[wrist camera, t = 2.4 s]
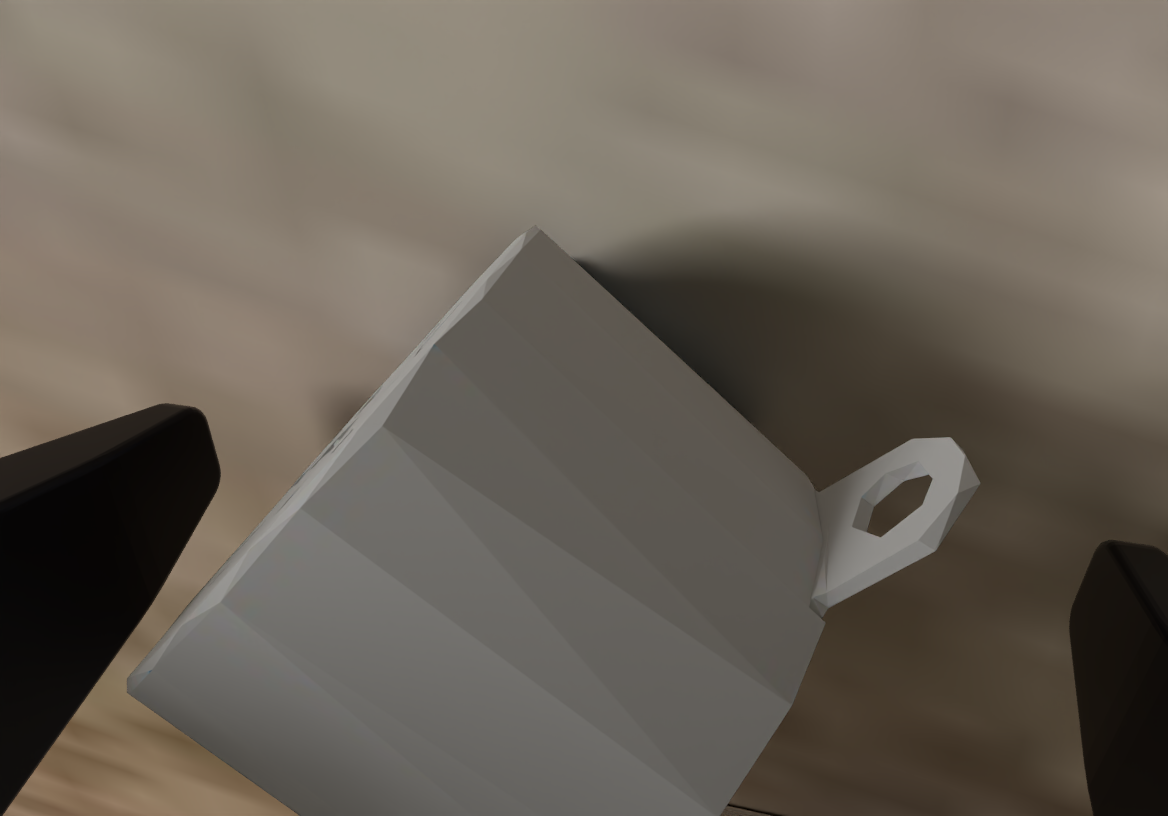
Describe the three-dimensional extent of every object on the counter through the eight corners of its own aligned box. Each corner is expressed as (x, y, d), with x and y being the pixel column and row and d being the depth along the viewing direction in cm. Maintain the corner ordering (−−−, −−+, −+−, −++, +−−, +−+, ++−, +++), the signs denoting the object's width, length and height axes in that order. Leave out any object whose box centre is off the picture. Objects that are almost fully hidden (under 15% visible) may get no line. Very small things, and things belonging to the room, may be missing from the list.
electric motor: (583, 689, 12) (450, 1126, 8) (306, 465, 11) (-12, 830, 7) (1049, 414, 8) (1264, 972, 4) (692, 39, 7) (506, 278, 3)
